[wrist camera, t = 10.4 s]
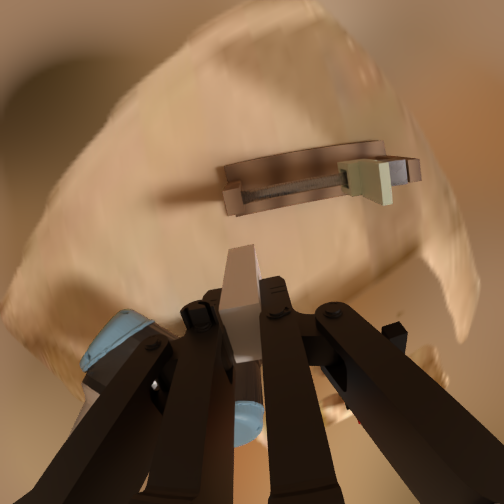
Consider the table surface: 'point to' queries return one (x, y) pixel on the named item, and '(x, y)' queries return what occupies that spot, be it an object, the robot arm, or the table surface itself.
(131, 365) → the robot arm
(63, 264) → the table surface
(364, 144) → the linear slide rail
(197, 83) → the table surface
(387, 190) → the cream t-shaped block
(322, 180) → the rod
